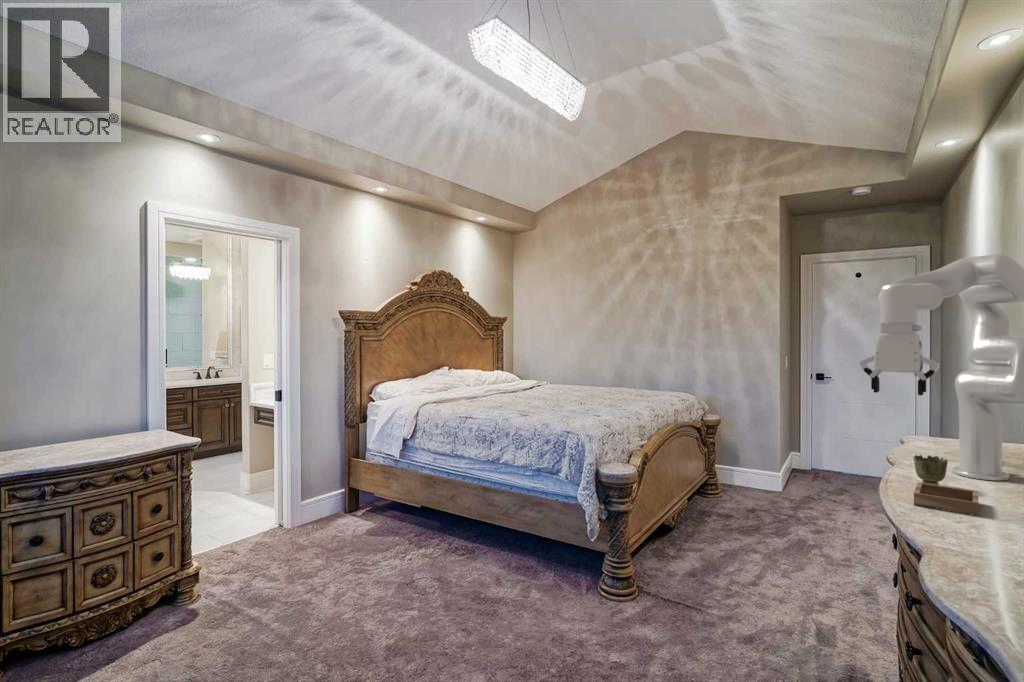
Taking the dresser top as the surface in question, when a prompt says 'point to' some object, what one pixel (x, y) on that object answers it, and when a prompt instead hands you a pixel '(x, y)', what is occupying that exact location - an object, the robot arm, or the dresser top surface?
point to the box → (946, 498)
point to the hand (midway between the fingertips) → (898, 393)
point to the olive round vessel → (930, 469)
